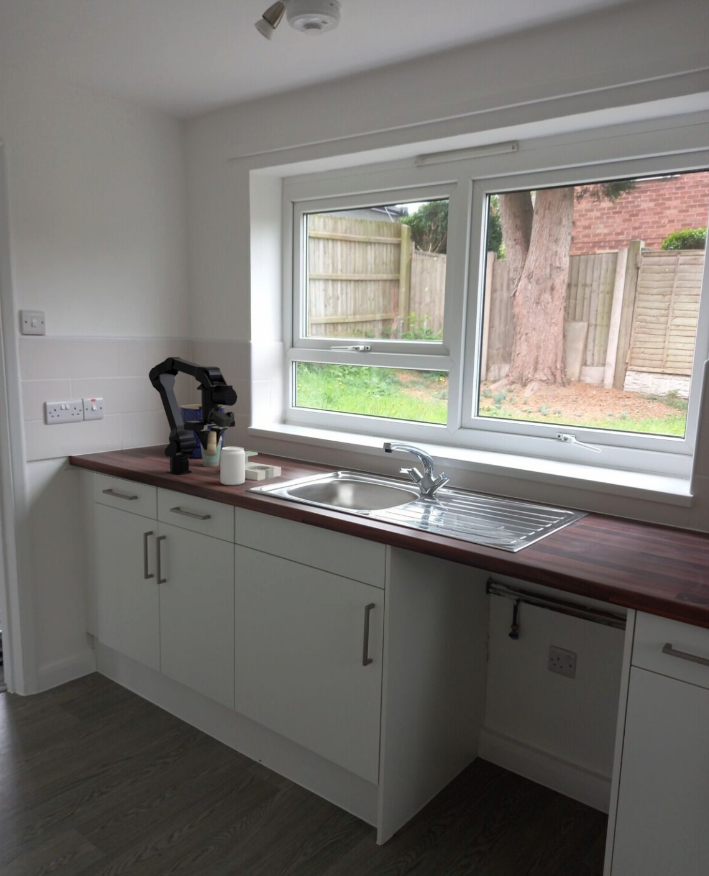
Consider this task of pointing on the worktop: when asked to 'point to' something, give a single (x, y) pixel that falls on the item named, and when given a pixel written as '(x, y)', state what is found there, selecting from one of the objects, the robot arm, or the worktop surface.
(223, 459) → the beverage can
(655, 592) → the worktop surface
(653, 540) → the worktop surface
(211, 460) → the coffee cup
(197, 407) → the planter
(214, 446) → the peg
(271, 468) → the socket
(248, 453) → the mint green folder
